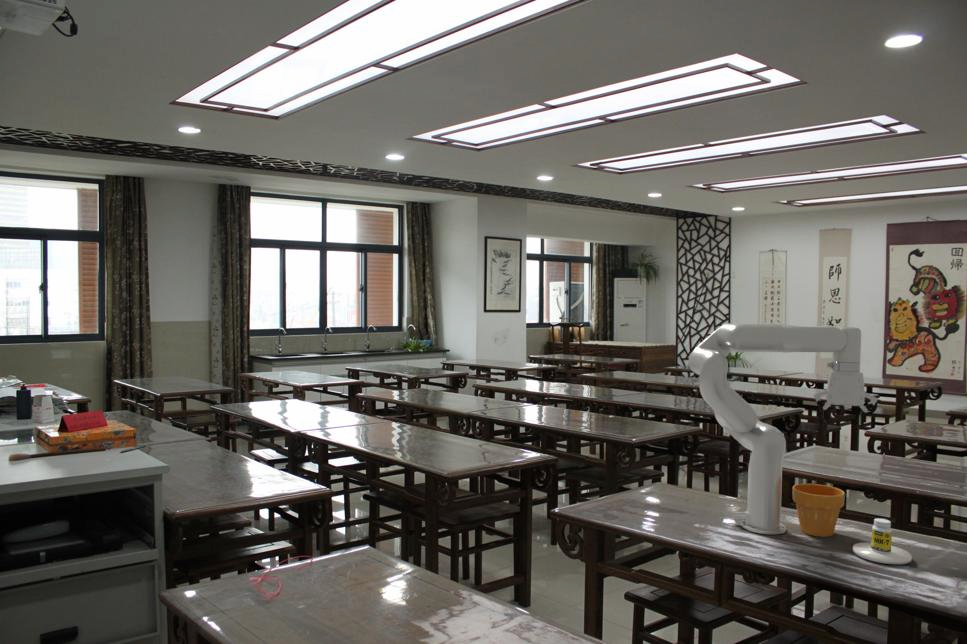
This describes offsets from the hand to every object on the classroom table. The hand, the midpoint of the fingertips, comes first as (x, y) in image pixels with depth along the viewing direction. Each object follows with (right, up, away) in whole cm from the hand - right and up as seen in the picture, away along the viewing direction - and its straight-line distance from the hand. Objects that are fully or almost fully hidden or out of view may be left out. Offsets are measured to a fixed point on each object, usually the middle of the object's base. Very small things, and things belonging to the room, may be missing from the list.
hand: (844, 423), depth 219 cm
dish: (-2, -33, -23) cm, 40 cm away
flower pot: (-10, -32, -3) cm, 34 cm away
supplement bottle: (-2, -32, -23) cm, 39 cm away
